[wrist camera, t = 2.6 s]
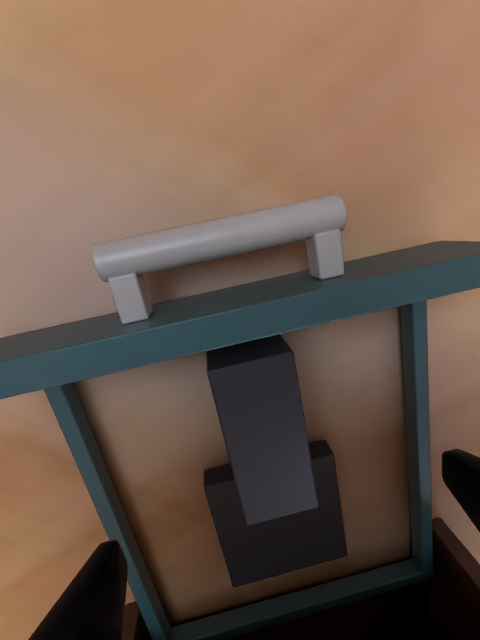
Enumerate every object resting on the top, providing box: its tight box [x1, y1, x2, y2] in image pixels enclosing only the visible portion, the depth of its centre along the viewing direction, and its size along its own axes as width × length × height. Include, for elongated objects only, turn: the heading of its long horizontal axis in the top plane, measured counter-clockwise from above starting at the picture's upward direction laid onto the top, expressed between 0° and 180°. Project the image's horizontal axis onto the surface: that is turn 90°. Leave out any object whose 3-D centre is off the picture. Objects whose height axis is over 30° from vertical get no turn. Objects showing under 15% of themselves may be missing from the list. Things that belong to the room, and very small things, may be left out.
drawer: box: [0, 194, 480, 640], centre depth 12 cm, size 19×17×3 cm
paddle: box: [204, 334, 347, 587], centre depth 12 cm, size 6×12×3 cm, turn 11°
